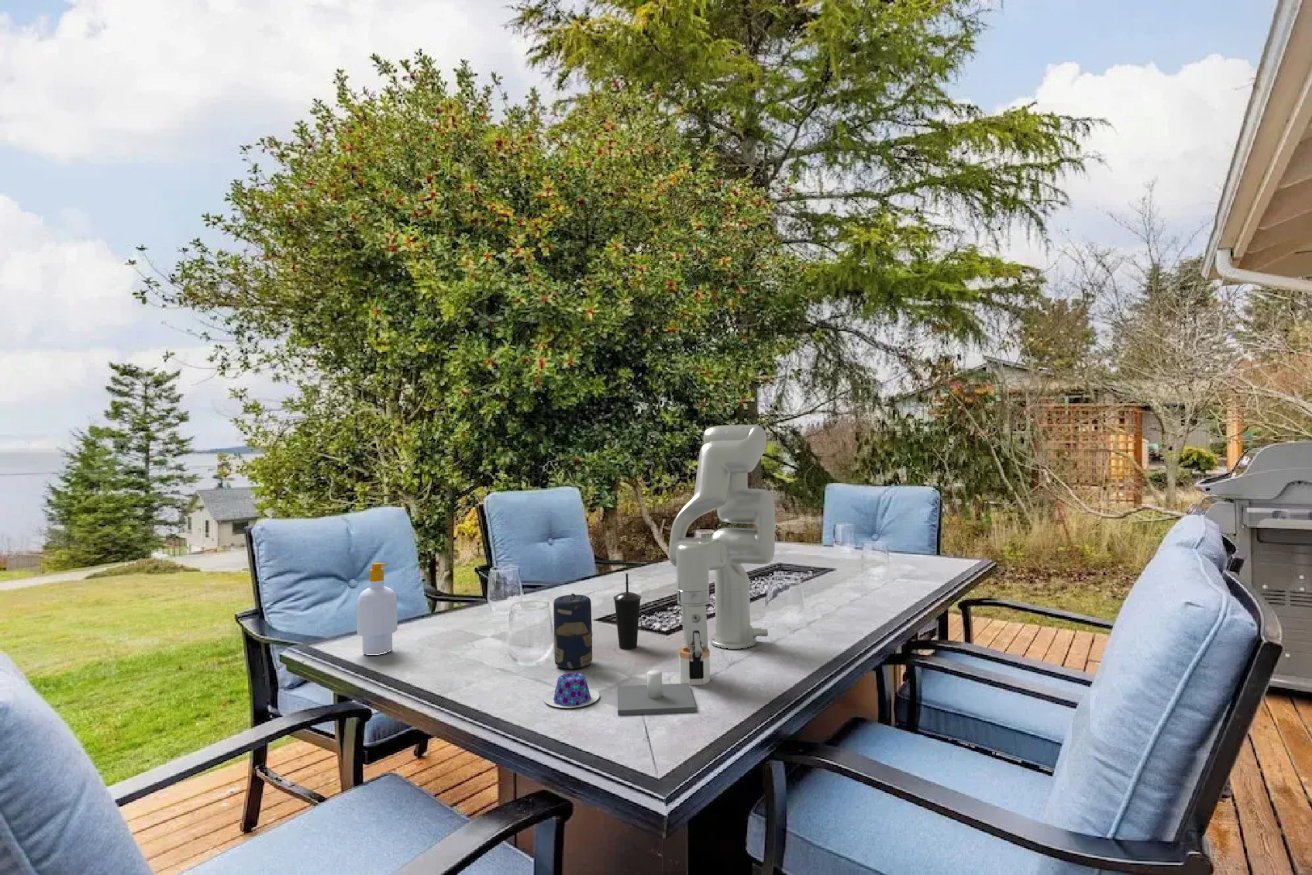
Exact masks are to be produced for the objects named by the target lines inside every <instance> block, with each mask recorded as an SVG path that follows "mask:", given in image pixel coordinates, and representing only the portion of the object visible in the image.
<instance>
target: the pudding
mask: <svg viewBox="0 0 1312 875" xmlns="http://www.w3.org/2000/svg"><path fill="white" fill-rule="evenodd" d="M553 696H554V698H553V700H550V698H549V697H553ZM599 698H600V693H599V692H598V691H597V690H595V689H592V688H589V686H588V681H587V678H586V676H585V675H584V674H582V673H580V672H568V673H563V674H562V675H559V677H558V678H557V680H556V686H555V690H552V691H551V692H548V693H547V694H546V695H545V696H544V698H543V701H544V702H545V703H546V704H547V705H549V706H551V707H556V708H563V709H564V708H566V709H571V708H580V707H585V706H588V705H591V704H593V703H595V702H597V700H599ZM549 701H553V703H551V702H549Z"/></svg>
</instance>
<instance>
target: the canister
mask: <svg viewBox="0 0 1312 875" xmlns="http://www.w3.org/2000/svg"><path fill="white" fill-rule="evenodd" d="M592 624H593V622H592V600H591V598H590V597H589V596H587V595H584V594H575V593H571V594H565V595H561V596H558V597H556V598H555V599H554V600H553V644H554V645H553V646H554V648H553V650H554V652H553V654H554V655H553V656H554V657H553V658H554V664H555V665H556V666H557V667H559V668H561V669H569V670H571V669H581V668H584V667H587V666H589V665H591V663H592V661H593V625H592Z"/></svg>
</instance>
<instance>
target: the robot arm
mask: <svg viewBox="0 0 1312 875" xmlns="http://www.w3.org/2000/svg"><path fill="white" fill-rule="evenodd" d="M702 438H703V445H702V446H701V448H700V450H699V456H698V462H697V470H696V479H695V485H694V492H693V496H692V498H691V499H690V500H688V502H687V503H685V505H683V507H682V508H681V509H680V510H679V512H678V513H677V515H676V517H675V518H674V520H673V522H672V526H671V529H670V530H671V531H670V537H669V543H668V559H669V562H670V563H671V565H672V566H674V567H676V594H677V595H676V596H677V597H676V601H677V602H676V603H677V605H680V606H681V608H682V609H681V612H682V616H681V617H682V633H683V634H682V635H683V640H684V643H685V646H687V648H688V649H690V661H689V677H690V679H703V678H704V671H703V656H702V646H703V647H705V649H707V648H708V649H709V642H710V644H711V645H712V646H714V647H716V646H717V648H720V647H721V648H720V649H726V648H728V650H742V649H741V648H743V649H748V648H747V647H749V648H751V647H750V646H752V647H753V646H755V645H756V644H757V637H768V635H769V632H768V631H769V630H768V629H767V628H762V627H753V626H752V625H751V598H750V596H751V594H750V588H751V587H750V578H749V575H748V573H747V571H746V570H745V568H744V567H743V564H747V565H748V564H749V565H768V564H771V562H772V561H773V560H774V557H775V550H776V549H775V548H776V546H775V545H776V524H775V523H776V509H775V508H776V507H775V506H776V505H775V500H774V495H773V494H772V493H771V492H770V491H768V490H767V489H764V488H749V487H748V486H749V485H748V481H749V480H748V475H749V474H748V473H751V472H753V471H754V470H755V468H756V467H757V465H758V463H759V462H760V460H761V458H762V456H763V454H764V453H765V451H766V449H767V448H766V447H767V441H768V439H767V434H766V431H765V429H764V428H763V427H762V426H761V425H758V424H731V425H730V424H729V425H727V424H726V425H724V424H723V425H716V426H711V427H708V428H707V429H705V431H704V432H703V437H702ZM714 510H716V513H717V516H718V519H719V520H720V521H721V522H724V523H730V524H751V525H753V524H754V525H755V526H756V528H745V527H744V528H743V527H724V528H720V529H717V530H715V531H714V532H713V533H712V535H711V537H710V538H709V537H708V538H705V537H686V535H687V532H688V529H689V527H691V525H692V524H693V522H695V520H697V519H698V518H700V517H701V516H704V515H705V514H708V513H710V512H712V511H714ZM710 571H713V572H714V597H715V599H714V601H715V604H714V605H715V610H714V611H715V634H714V635H712V636H711V637H710V639H709V640H710V641H709V640H708V621H707V620H708V619H707V617H708V616H707V608H706V605H709V604H710V577H709V576H710ZM691 645H694V647H692V646H691ZM693 651H695V652H693Z"/></svg>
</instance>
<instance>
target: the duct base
mask: <svg viewBox="0 0 1312 875" xmlns="http://www.w3.org/2000/svg"><path fill="white" fill-rule="evenodd" d="M646 677H647V678H646V681H647V682H646V684H636V685H635V684H634V685H633V684H632V685H618V686H617V716H626V715H627V716H628V715H631V716H632V715H650V714H654V715H655V714H674V713H675V714H679V713H696V712H697V707H696V704H695V699H694V695H693V693H692V690H691V688H690V685H689V684H688V683H664V684H663V672H662V671H661V670H658V669H653V670H648V671H647V673H646Z"/></svg>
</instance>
